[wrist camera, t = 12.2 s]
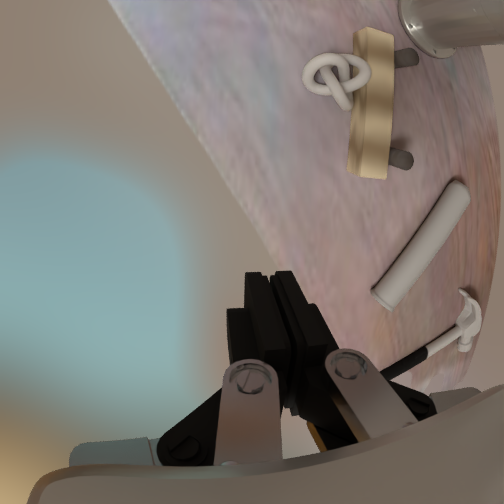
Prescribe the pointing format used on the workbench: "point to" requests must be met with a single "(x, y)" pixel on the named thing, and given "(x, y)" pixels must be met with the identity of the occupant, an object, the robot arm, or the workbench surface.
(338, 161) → the workbench surface
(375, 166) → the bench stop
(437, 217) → the tube
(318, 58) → the knot
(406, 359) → the claw hammer
